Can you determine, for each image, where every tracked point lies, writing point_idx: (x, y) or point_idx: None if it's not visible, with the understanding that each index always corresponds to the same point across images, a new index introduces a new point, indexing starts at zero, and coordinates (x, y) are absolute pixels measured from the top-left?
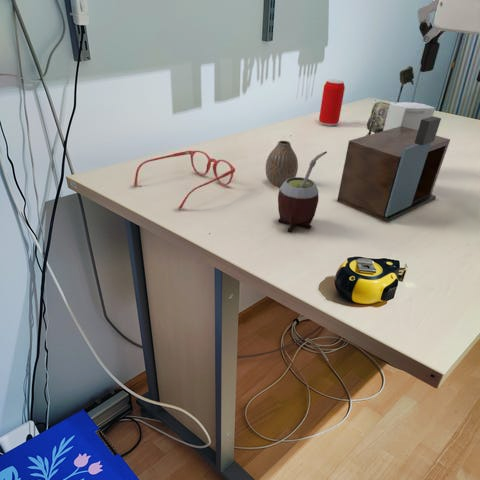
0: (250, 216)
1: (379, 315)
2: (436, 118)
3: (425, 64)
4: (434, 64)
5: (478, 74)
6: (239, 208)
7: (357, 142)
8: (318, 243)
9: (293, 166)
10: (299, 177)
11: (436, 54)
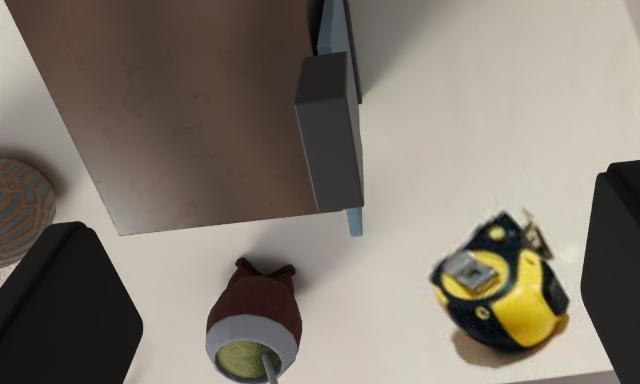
0: (192, 323)
1: (578, 340)
2: (337, 127)
3: (124, 365)
4: (70, 249)
5: (599, 329)
6: (149, 322)
7: (148, 225)
8: (353, 288)
9: (32, 218)
10: (218, 349)
11: (37, 327)
